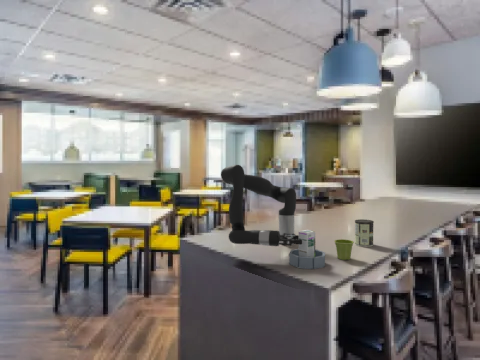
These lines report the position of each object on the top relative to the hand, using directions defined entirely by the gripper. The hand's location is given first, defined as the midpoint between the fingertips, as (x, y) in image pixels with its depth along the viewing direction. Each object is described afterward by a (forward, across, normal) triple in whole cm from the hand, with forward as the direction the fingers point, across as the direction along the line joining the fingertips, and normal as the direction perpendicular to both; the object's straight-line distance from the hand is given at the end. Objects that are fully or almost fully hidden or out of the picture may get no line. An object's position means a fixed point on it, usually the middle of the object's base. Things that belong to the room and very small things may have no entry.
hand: (302, 239), depth 160 cm
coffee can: (+31, +45, +11) cm, 56 cm away
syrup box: (+2, 0, +10) cm, 10 cm away
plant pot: (+19, +13, +11) cm, 26 cm away
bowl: (+2, 0, +11) cm, 11 cm away
